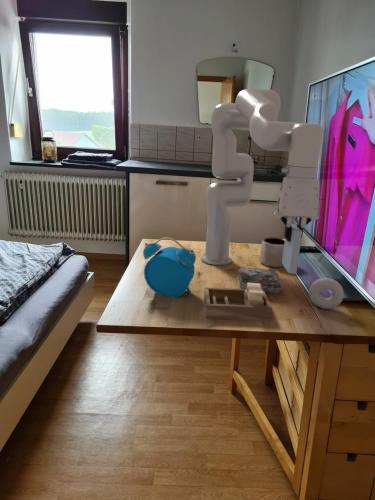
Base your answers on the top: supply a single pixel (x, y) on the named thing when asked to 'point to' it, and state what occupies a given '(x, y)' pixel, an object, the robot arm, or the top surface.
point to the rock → (261, 279)
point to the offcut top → (254, 291)
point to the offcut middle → (253, 302)
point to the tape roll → (326, 284)
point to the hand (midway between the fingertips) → (292, 239)
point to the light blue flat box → (292, 250)
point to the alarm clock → (169, 268)
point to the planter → (272, 252)
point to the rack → (233, 305)
